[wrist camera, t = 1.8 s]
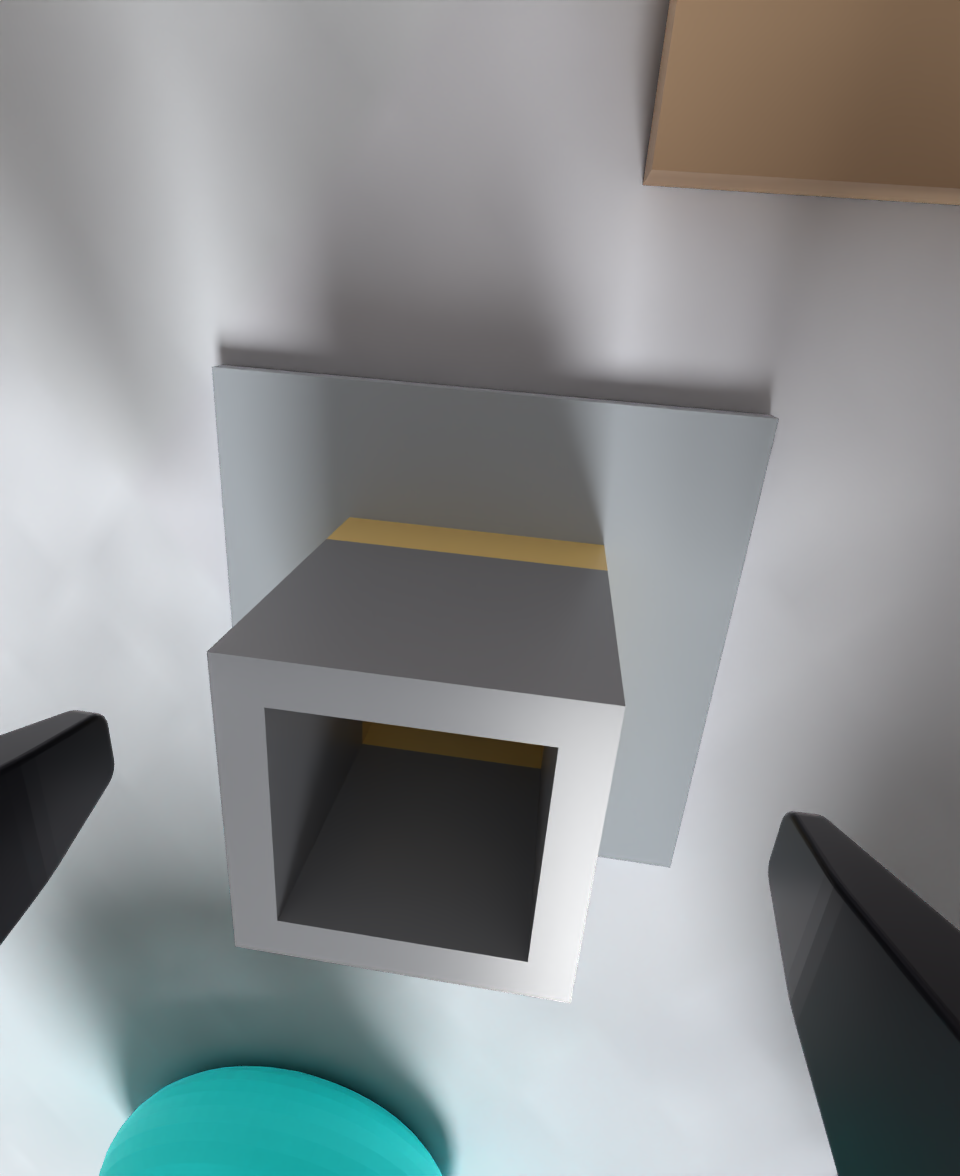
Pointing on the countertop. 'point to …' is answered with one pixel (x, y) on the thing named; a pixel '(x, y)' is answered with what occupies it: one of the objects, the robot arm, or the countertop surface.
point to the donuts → (263, 1130)
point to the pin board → (810, 99)
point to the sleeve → (422, 754)
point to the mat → (521, 525)
